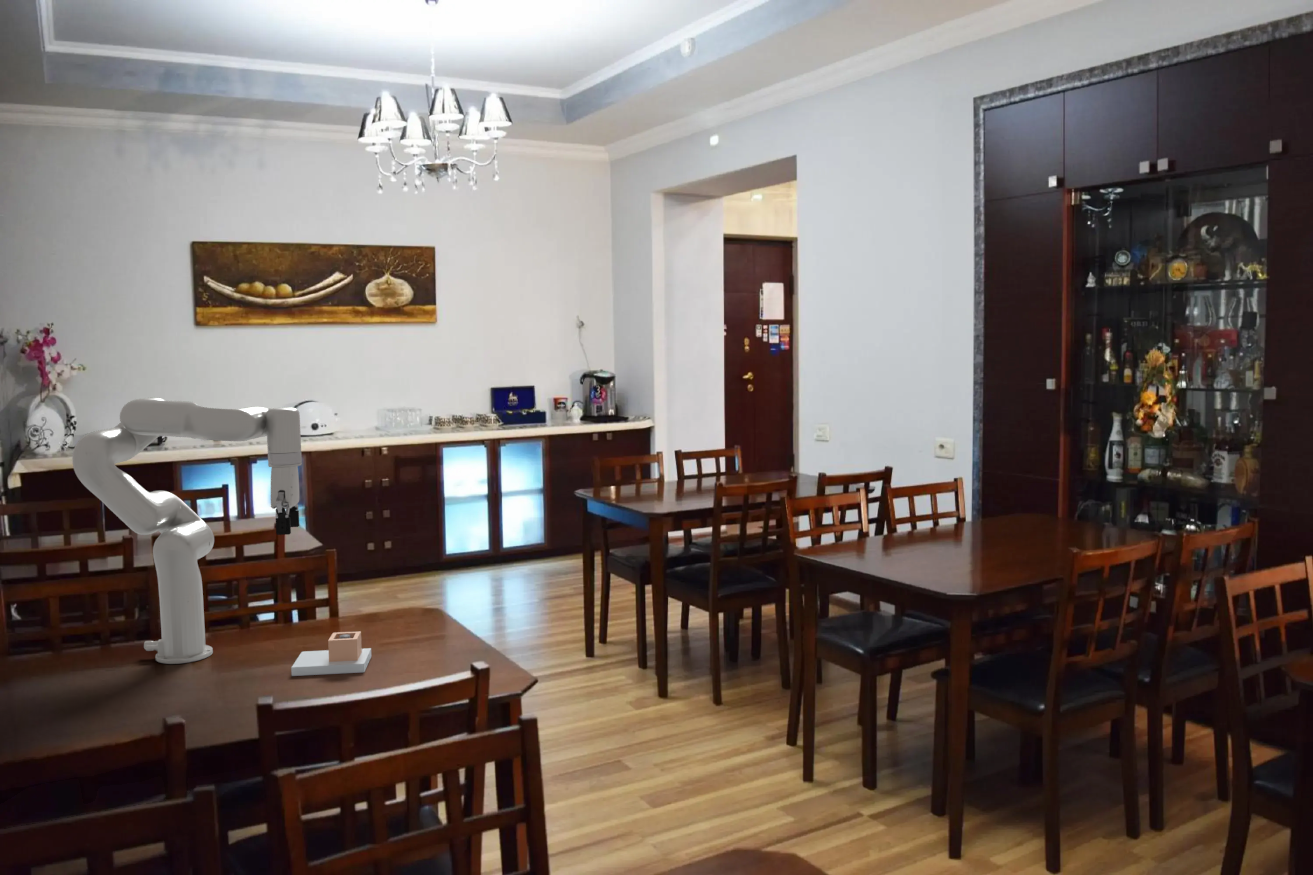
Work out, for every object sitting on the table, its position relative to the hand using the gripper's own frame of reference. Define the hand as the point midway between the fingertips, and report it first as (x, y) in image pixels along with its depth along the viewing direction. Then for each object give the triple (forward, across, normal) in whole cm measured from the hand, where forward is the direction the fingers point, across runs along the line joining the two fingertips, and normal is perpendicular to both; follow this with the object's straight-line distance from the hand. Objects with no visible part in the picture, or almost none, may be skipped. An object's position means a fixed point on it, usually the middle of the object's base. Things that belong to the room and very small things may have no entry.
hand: (288, 530), depth 248 cm
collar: (+28, +11, +14) cm, 33 cm away
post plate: (+30, +11, +11) cm, 34 cm away
